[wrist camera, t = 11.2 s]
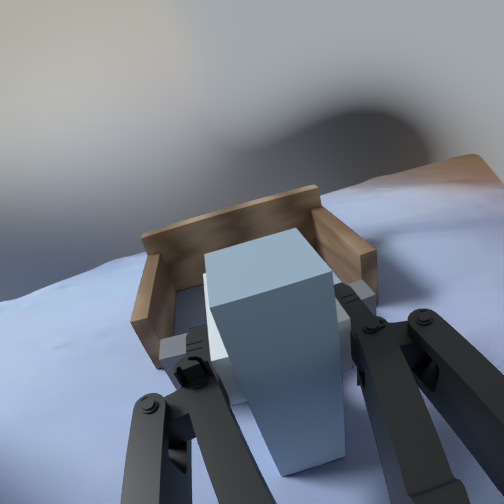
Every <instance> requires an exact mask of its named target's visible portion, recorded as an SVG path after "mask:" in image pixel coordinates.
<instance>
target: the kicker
mask: <svg viewBox="0 0 504 504" xmlns="http://www.w3.org/2000/svg"><path fill="white" fill-rule="evenodd" d="M204 256H205V268H206V279H207V289H208V299H209V308H210V311H211V313H212V316H213V319H214V321H215V324H216V326H217V329H218V331H219V334H220V337H221V339H222V342H223V344H224V347H225V349H226V352H227V354H228V357H229V359H230V361H231V364H232V366H233V369H234V371H235V374H236V376H237V378H238V381H239V383H240V386H241V388H242V390H243V393H244V395H245V397H246V400H247V402H248V404H249V407H250V409H251V411H252V413H253V416H254V418H255V420H256V423H257V425H258V427H259V429H260V432H261V434H262V436H263V438H264V440H265V443H266V445H267V447H268V449H269V451H270V453H271V456H272V458H273V460H274V462H275V464H276V466H277V468H278V470H279V472H280V475H281V477H282V476H286V475H289V474H293V473H296V472H300V471H303V470H306V469H309V468H312V467H316V466H319V465H322V464H324V463H327V462H330V461H333V460H336V459H339V458H341V457H344V456H345V423H344V400H343V382H342V367H341V354H340V342H339V331H338V320H337V310H336V301H335V292H334V283H333V275H332V270H331V269H330V268H329V267H328V265H327V264H326V263H325V262H324V261H323V259H322V258H321V257H320V256H319V255H318V253H317V252H316V251H315V250H314V249H313V247H312V246H311V245H310V244H309V243H308V241H307V240H306V239H305V238H304V237H303V235H302V234H301V233H300V232H299V231H298V230H297V228H293V229H290V230H286V231H283V232H279V233H276V234H272V235H269V236H265V237H262V238H258V239H255V240H252V241H248V242H245V243H241V244H238V245H234V246H231V247H227V248H224V249H221V250H217V251H214V252H210V253H207V254H204ZM347 285H349V286H351V288H352V289H353V290H354V291H355V292H356V294H357V295H358V296H359V297H360V299H361V300H362V301H363V302H364V303H365V305H366V306H367V307H368V308H369V310H370V311H371V312H372V313H373V315H374V316H376V294H375V293H374V292H373V291H372V290H371V288H370V287H369V286H368V285H367V284H366V283H365V282H364V281H363V280H359V281H356V282H353V283H350V284H347ZM187 334H188V333H184V334H180V335H176V336H173V337H169V338H165V339H161V341H160V352H159V361H160V363H161V364H162V366H163V368H164V370H165V371H166V373H167V375H168V376H169V378H170V380H171V381H172V383H173V385H174V386H175V388H176V389H177V390H178V389H179V388H180V387H181V385H180V384H179V382H178V380H177V379H176V377H175V375H174V373H173V370H174V367H175V365H176V363H177V362H178V361H179V360H180V359H182V358H183V357H185V356H186V335H187Z"/></svg>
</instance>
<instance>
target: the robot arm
mask: <svg viewBox="0 0 504 504" xmlns="http://www.w3.org/2000/svg"><path fill="white" fill-rule="evenodd" d="M203 279H204V292H205V304H206V315H207V324H205V325H202V326H198V327H194V328H190V330H189V332H188V334H187V335H186V356H185V357H183V358H182V359H180V360H179V361H178V362H177V363H176V365H175V367H174V370H173V373H174V375H175V377H176V379H177V380H178V382H179V384H180V385H181V387H180V388H179V389H178V390H177V391H175V392H174V393H172V394H170V395H168V396H166V397H163V396H162V395H160V394H157V393H150V394H146V395H144V396H143V397H141V398H140V399H139V400H138V401H137V402H136V403H135V406H134V409H133V415H132V421H131V427H130V434H129V440H128V447H127V454H126V461H125V469H124V477H123V485H122V494H121V504H192V466H191V439H193V438H195V437H196V438H197V441H198V444H199V447H200V450H201V453H202V456H203V459H204V462H205V465H206V468H207V471H208V474H209V477H210V480H211V483H212V485H213V488H214V491H215V494H216V496H217V499H218V502H219V504H276V502H275V500H274V498H273V496H272V494H271V492H270V490H269V488H268V486H267V484H266V482H265V480H264V478H263V476H262V474H261V472H260V470H259V468H258V466H257V464H256V461H255V459H254V457H253V455H252V453H251V451H250V449H249V447H248V445H247V442H246V440H245V438H244V436H243V434H242V431H241V429H240V427H239V425H238V423H237V420H236V418H235V416H234V414H233V412H232V410H231V407H230V402H231V404H232V405H236V404H240V403H244V402H247V400H246V397H245V395H244V393H243V390H242V388H241V386H240V383H239V381H238V378H237V376H236V374H235V371H234V369H233V366H232V364H231V361H230V359H229V357H228V354H227V352H226V349H225V347H224V344H223V342H222V339H221V337H220V334H219V331H218V329H217V326H216V324H215V321H214V319H213V316H212V313H211V311H210V308H209V299H208V289H207V279H206V273H204V274H203ZM334 292H335V301H336V310H337V320H338V331H339V342H340V354H341V367H342V371H345V370H347V369H350V368H353V362H352V359H353V361H354V362H355V364H356V366H357V386H359V385H360V386H361V389H362V393H363V396H364V400H365V403H366V407H367V410H368V414H369V418H370V421H371V425H372V429H373V432H374V436H375V440H376V444H377V448H378V452H379V456H380V460H381V464H382V468H383V472H384V476H385V480H386V484H387V489H388V493H389V498H390V502H391V504H470V502H469V499H468V495H467V492H466V490H465V487H464V485H463V483H462V482H461V481H460V480H458V479H456V478H454V477H453V475H452V473H451V470H450V467H449V464H448V461H447V459H446V456H445V453H444V450H443V448H442V445H441V442H440V440H439V437H438V435H437V432H436V429H435V427H434V424H433V422H432V419H431V417H430V414H429V412H428V410H427V407H426V405H425V402H424V400H423V398H422V395H421V393H420V391H419V388H420V389H421V390H422V392H423V393H424V394H425V395H426V397H427V398H428V399H429V400H430V401H431V403H432V404H433V405H434V406H435V408H436V409H437V410H438V411H439V413H440V414H441V415H442V416H443V418H444V419H445V420H446V422H447V423H448V424H449V425H450V427H451V428H452V429H453V430H454V432H455V433H456V434H457V436H458V437H459V438H460V439H461V441H462V442H463V443H464V445H465V446H466V447H467V449H468V450H469V451H470V452H471V454H472V455H473V456H474V458H475V459H476V460H477V462H478V463H479V464H480V466H481V467H482V468H483V470H484V471H485V472H486V474H487V475H488V476H489V478H490V479H491V480H492V482H493V483H494V485H495V486H496V487H497V489H498V490H499V491H500V492H501V493H502V495H503V496H504V375H503V374H502V373H501V372H500V371H499V370H498V369H497V368H496V367H495V366H494V365H493V364H492V363H490V362H489V361H488V360H487V359H486V358H485V357H484V356H483V355H482V354H481V353H480V352H479V351H478V350H477V349H476V348H475V347H474V346H472V345H471V344H470V343H469V342H468V341H467V340H466V339H465V338H464V337H463V336H462V335H461V334H459V333H458V332H457V331H456V330H455V329H454V328H453V327H452V326H451V325H449V324H448V323H447V322H446V321H445V320H444V319H443V318H442V317H440V316H439V315H438V314H437V313H436V312H434V311H432V310H430V309H417V310H414V311H413V312H412V313H410V315H409V316H408V321H403V322H396V323H388V322H387V321H386V320H385V319H383V318H381V317H378V316H374V315H373V313H372V312H371V311H370V310H369V308H368V307H367V306H366V305H365V303H364V302H363V301H362V300H361V299H360V297H359V296H358V295H357V294H356V292H355V291H354V290H353V289H352V288H351V286H349V285H346V284H344V283H342V282H341V283H338V284H335V285H334ZM417 385H418V386H417ZM418 387H419V388H418ZM229 400H230V401H229Z"/></svg>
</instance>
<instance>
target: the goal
mask: <svg viewBox="0 0 504 504" xmlns="http://www.w3.org/2000/svg"><path fill="white" fill-rule="evenodd" d="M293 228H297V230H298V231H299V232H300V233H301V234H302V235H303V237H304V238H305V239H306V240H307V241H308V243H309V244H310V245H311V246H312V247H313V249H314V250H315V251H317V252H318V253H319V255H320V256H321V257H322V258H323V259H324V261H325V262H326V263H327V264H328V265H329V267H330V268H331V269H332V270H333V271H334V273H335V274H336V275H337V276H338V278H339V279H340V280H341V281H342V282H343V283H344V284H346V285H347V284H350V283H353V282H356V281H359V280H363V281H364V282H365V283H366V284H367V285H368V286H369V287H370V288H371V290H372V291H373V292H374V293H375V294H376V303H378V280H377V256H376V249H375V248H374V247H373V246H371V245H370V244H369V243H368V242H367V241H365V240H364V239H363V238H362V237H360V236H359V235H358V234H357V233H356V232H354V231H353V230H352V229H351V228H349V227H348V226H347V225H346V224H344V223H343V222H342V221H341V220H339V219H338V218H337V217H336V216H334V215H333V214H332V213H331V212H329V211H328V210H327V209H326V208H324V207H323V206H322V205H321V200H320V194H319V188H318V187H317V186H315V185H310V186H306V187H302V188H298V189H294V190H290V191H287V192H283V193H279V194H275V195H272V196H268V197H264V198H261V199H257V200H253V201H250V202H246V203H242V204H239V205H236V206H232V207H228V208H225V209H221V210H218V211H215V212H211V213H208V214H204V215H201V216H198V217H194V218H191V219H188V220H184V221H181V222H178V223H174V224H171V225H168V226H165V227H162V228H158V229H156V230H152V231H149V232H146V233H143V234H142V237H141V240H142V242H143V245H144V248H145V250H146V253H147V255H148V256H147V260H146V263H145V267H144V270H143V274H142V278H141V281H140V285H139V289H138V293H137V297H136V300H135V304H134V308H133V313H132V317H131V321H130V323H131V325H132V327H133V328H134V330H135V332H136V334H137V336H138V337H139V339H140V341H141V343H142V345H143V346H144V348H145V350H146V352H147V353H148V355H149V357H150V359H151V360H152V362H153V364H154V365H155V367H156V369H160V368H163V366H162V364H161V363H160V361H159V352H160V341H161V339H165V338H169V337H173V336H174V318H175V301H176V292H177V291H180V290H184V289H188V288H191V287H195V286H198V285H202V284H204V279H203V274H204V273H206V268H205V256H204V254H207V253H210V252H214V251H217V250H221V249H224V248H227V247H231V246H234V245H238V244H241V243H245V242H248V241H252V240H255V239H258V238H262V237H265V236H269V235H272V234H276V233H279V232H283V231H286V230H290V229H293Z"/></svg>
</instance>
